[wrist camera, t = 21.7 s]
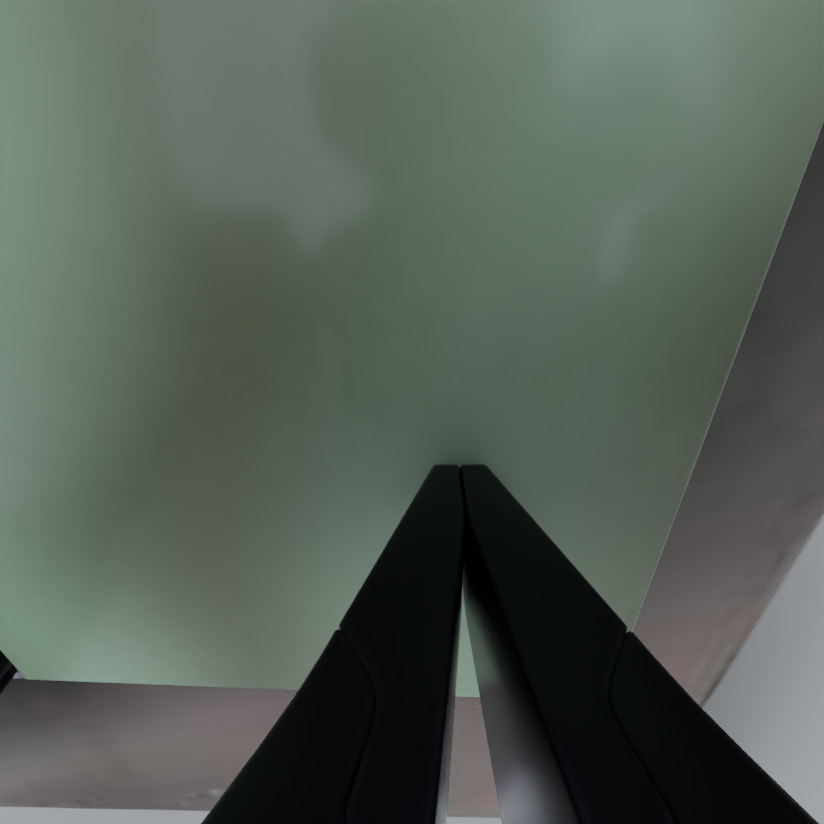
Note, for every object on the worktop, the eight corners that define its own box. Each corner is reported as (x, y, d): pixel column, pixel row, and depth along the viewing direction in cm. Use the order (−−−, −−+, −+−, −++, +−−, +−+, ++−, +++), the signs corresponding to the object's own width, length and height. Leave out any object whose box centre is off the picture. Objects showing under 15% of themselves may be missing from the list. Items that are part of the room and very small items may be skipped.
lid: (863, -111, 4) (930, -148, 4) (598, 674, 12) (607, 703, 11) (-497, -21, 5) (-617, -41, 5) (44, 654, 12) (25, 681, 12)
